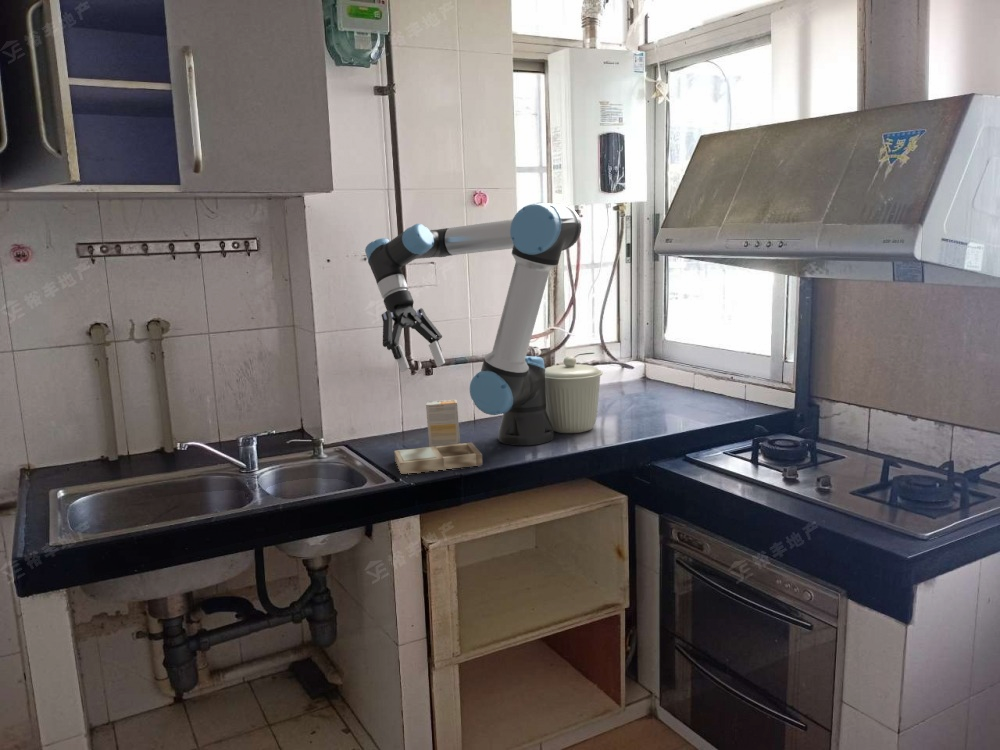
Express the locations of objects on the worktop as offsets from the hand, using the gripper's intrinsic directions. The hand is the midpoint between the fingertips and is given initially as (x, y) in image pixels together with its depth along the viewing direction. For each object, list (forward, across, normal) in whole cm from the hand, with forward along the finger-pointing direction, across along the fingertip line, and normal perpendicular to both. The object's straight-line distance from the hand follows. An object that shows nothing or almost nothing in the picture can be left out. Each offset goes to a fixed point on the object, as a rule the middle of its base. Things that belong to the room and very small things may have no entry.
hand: (423, 367), depth 210 cm
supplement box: (+22, -2, -6) cm, 23 cm away
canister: (+28, -36, +11) cm, 48 cm away
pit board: (+26, +9, +1) cm, 27 cm away
